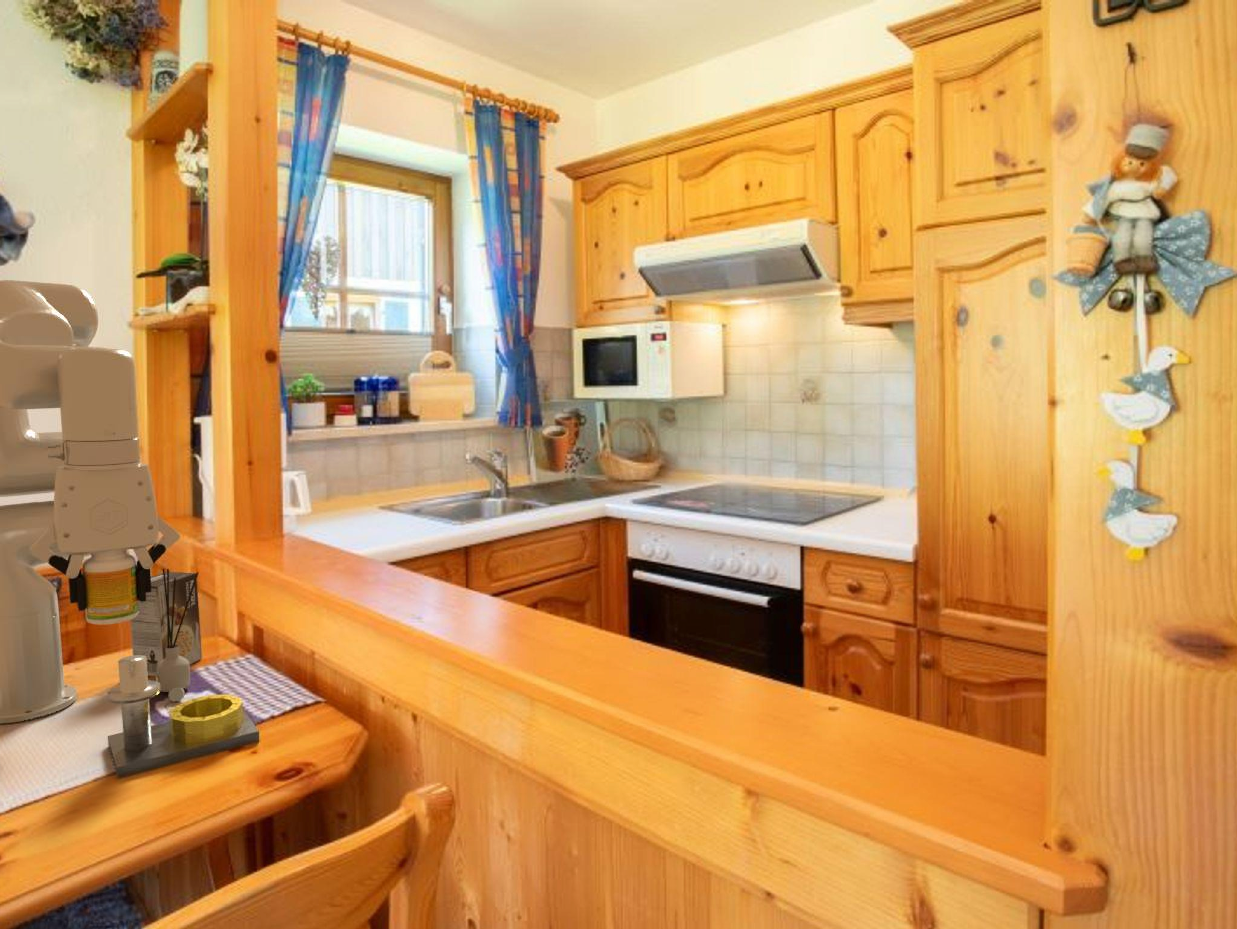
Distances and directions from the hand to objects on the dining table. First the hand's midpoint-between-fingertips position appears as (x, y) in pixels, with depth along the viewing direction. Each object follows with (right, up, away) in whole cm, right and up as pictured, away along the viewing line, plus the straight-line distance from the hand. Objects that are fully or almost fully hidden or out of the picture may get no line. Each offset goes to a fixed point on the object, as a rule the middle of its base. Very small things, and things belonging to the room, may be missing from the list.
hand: (111, 601), depth 95 cm
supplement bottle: (0, -2, 0) cm, 2 cm away
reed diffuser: (-10, -20, +34) cm, 41 cm away
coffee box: (-18, -19, +44) cm, 51 cm away
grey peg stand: (0, -22, +15) cm, 27 cm away
